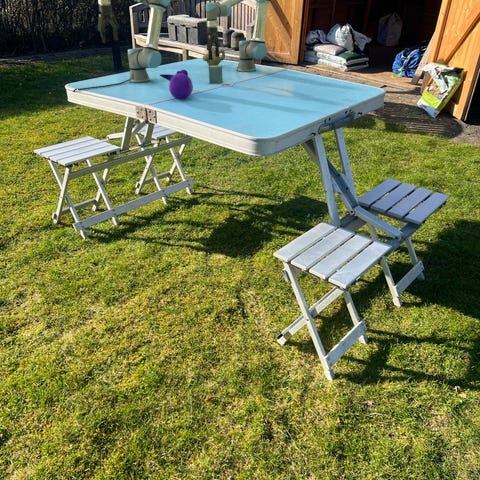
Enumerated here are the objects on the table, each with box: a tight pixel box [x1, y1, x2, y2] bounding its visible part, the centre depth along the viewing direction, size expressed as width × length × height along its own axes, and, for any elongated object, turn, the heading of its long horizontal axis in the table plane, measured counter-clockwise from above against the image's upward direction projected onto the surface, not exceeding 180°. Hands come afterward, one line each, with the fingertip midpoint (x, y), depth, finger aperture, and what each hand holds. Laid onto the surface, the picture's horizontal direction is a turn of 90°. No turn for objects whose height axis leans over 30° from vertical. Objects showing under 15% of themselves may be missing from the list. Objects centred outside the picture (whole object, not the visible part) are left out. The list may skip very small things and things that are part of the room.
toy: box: [159, 69, 194, 100], centre depth 286 cm, size 16×18×27 cm
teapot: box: [202, 47, 226, 67], centre depth 386 cm, size 21×12×15 cm, turn 120°
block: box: [208, 65, 223, 85], centre depth 326 cm, size 6×8×11 cm
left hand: (110, 41), depth 294 cm, fingers open, 13 cm apart
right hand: (214, 58), depth 333 cm, fingers open, 13 cm apart
